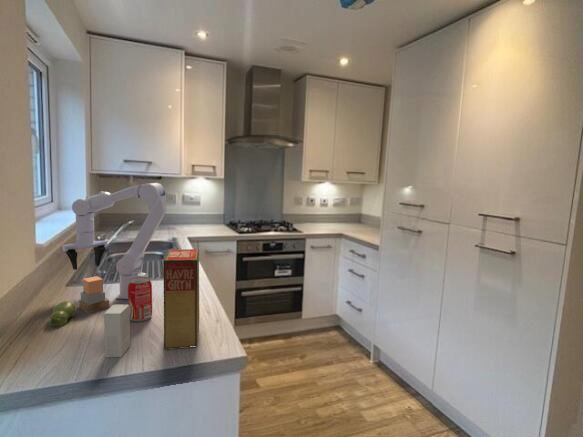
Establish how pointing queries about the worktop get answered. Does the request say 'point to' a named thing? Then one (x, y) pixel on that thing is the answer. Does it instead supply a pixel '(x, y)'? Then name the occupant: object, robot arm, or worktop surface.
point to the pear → (62, 313)
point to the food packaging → (181, 298)
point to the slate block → (92, 298)
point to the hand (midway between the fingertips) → (86, 267)
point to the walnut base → (94, 306)
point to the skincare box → (117, 330)
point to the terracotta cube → (93, 285)
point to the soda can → (140, 299)
